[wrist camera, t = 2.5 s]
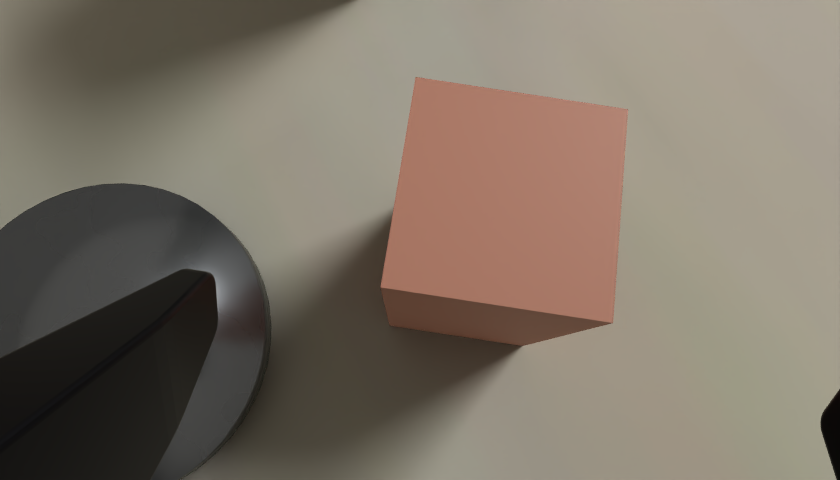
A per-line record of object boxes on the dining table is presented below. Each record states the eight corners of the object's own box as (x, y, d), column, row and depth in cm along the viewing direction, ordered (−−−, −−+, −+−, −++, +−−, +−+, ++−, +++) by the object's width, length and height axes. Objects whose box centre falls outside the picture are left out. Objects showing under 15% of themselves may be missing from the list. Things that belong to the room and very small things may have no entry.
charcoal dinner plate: (233, 525, 18) (223, 534, 17) (-86, 475, 18) (-115, 481, 17) (297, 216, 20) (292, 208, 19) (15, 172, 20) (-5, 162, 19)
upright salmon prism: (522, 346, 19) (612, 323, 11) (389, 325, 19) (380, 286, 11) (535, 218, 20) (628, 109, 12) (410, 199, 20) (415, 77, 12)
